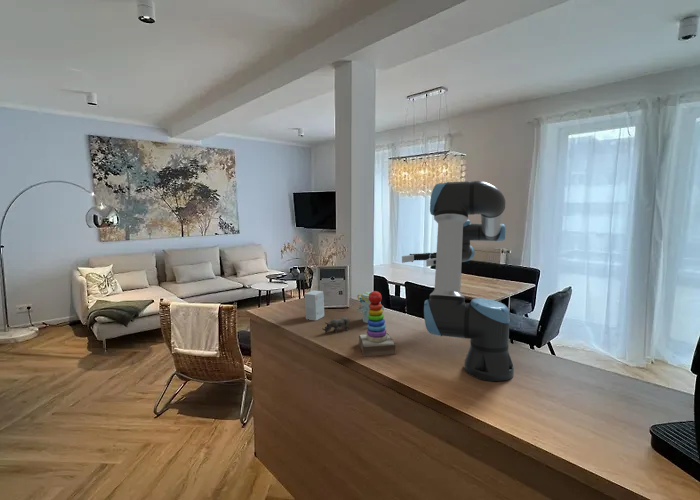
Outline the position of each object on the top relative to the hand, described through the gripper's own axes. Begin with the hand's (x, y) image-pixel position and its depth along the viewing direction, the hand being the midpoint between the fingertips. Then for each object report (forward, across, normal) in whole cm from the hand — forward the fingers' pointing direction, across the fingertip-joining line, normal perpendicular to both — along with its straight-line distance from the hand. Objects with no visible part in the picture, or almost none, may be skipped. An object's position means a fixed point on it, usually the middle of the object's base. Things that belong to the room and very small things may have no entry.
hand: (414, 261), depth 146 cm
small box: (+19, +50, -32) cm, 62 cm away
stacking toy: (+21, 0, -28) cm, 35 cm away
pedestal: (+21, 0, -32) cm, 38 cm away
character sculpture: (+1, +28, -32) cm, 43 cm away
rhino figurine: (+22, +26, -32) cm, 47 cm away
